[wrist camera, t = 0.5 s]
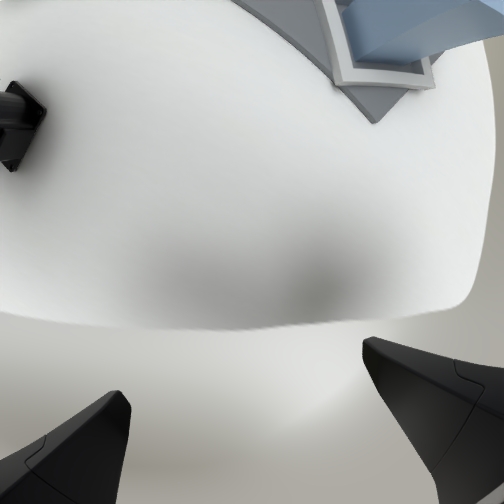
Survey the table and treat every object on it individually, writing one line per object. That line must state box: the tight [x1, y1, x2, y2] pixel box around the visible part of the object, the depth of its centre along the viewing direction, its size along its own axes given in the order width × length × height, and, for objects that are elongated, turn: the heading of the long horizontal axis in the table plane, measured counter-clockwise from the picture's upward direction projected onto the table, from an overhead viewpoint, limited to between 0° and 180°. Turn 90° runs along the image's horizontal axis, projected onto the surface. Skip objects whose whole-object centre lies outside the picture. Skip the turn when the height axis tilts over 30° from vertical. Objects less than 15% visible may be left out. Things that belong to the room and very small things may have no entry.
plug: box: [341, 0, 504, 66], centre depth 10 cm, size 5×4×13 cm
